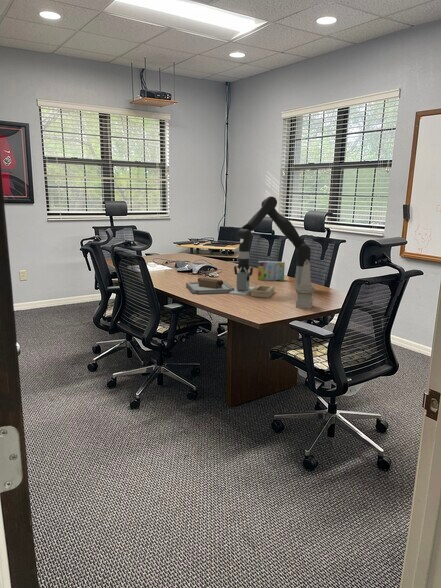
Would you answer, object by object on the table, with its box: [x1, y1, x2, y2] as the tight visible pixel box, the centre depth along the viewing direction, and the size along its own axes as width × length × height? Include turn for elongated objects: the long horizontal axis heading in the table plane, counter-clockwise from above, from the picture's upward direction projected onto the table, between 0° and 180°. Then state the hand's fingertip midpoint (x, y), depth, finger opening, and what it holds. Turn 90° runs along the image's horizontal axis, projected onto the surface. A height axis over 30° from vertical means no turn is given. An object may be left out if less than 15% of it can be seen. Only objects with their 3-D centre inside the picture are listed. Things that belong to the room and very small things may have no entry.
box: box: [236, 270, 251, 291], centre depth 311 cm, size 6×12×12 cm, turn 161°
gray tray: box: [185, 277, 235, 295], centre depth 316 cm, size 30×30×8 cm
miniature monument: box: [295, 259, 315, 310], centre depth 270 cm, size 10×10×30 cm
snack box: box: [257, 260, 286, 282], centre depth 355 cm, size 21×6×15 cm, turn 84°
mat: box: [228, 285, 256, 296], centre depth 313 cm, size 12×26×1 cm, turn 161°
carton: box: [250, 284, 276, 299], centre depth 304 cm, size 12×21×4 cm, turn 161°
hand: (243, 280), depth 311 cm, fingers closed on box, 6 cm apart
